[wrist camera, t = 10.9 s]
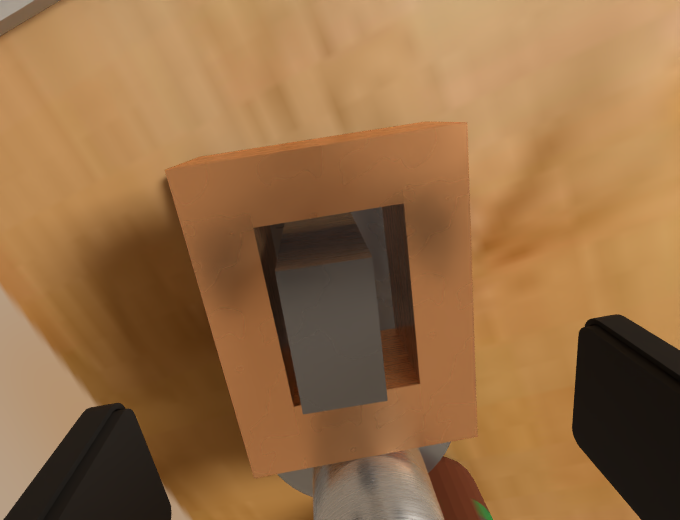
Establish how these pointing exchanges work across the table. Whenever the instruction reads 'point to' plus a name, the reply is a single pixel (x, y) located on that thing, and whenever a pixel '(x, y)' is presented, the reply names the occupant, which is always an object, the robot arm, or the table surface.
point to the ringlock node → (392, 299)
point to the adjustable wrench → (20, 12)
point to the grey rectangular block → (331, 313)
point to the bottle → (457, 492)
